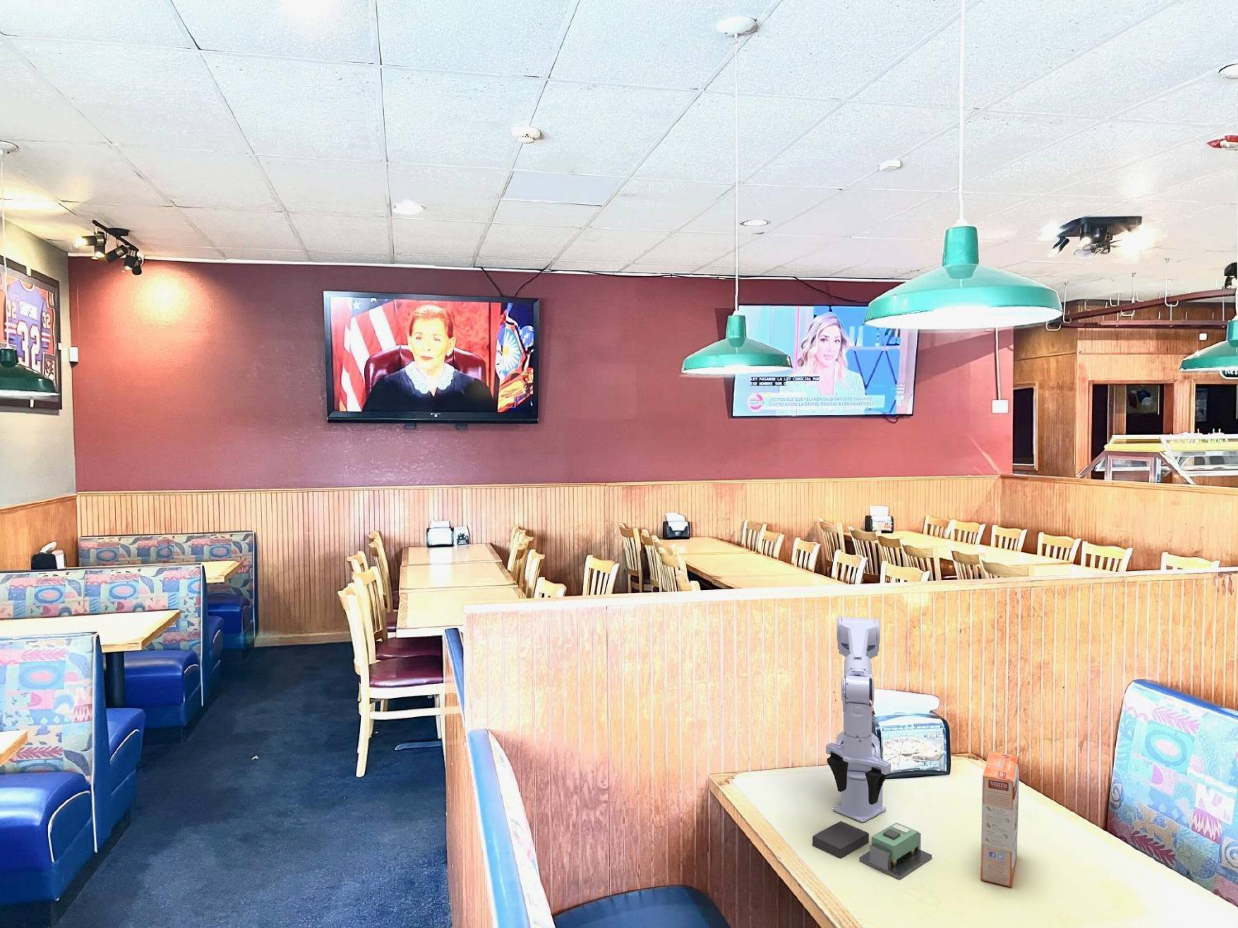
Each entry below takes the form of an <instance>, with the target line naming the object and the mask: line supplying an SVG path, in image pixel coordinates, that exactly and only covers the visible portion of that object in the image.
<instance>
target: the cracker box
mask: <svg viewBox="0 0 1238 928" xmlns="http://www.w3.org/2000/svg"><path fill="white" fill-rule="evenodd" d="M984 766H985V767H984V770H983V773H982V784H981V785H982V787H981V788H982V789H981V790H982V791H981V794H982V795H981V833H980V835H981V842H980V844H981V846H980V880H981V881H985V882H988V883H993V884H997V885H1001V886H1003V887H1004V886H1005V887H1008V888H1012V887H1013V882H1014V881H1013V879H1014V874H1015V867H1016V862H1017V855H1018V833H1019V832H1018V829H1019V828H1018V827H1019V794H1020V792H1019V791H1020V790H1019V789H1020V788H1019V786H1020V785H1019V784H1020V756H1018V755H1015V754H1010V753H1003V752H997V751H993V750H992V751H991V750H990V751H989V752H988V756H987V759H986V762H985V765H984Z"/></svg>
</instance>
